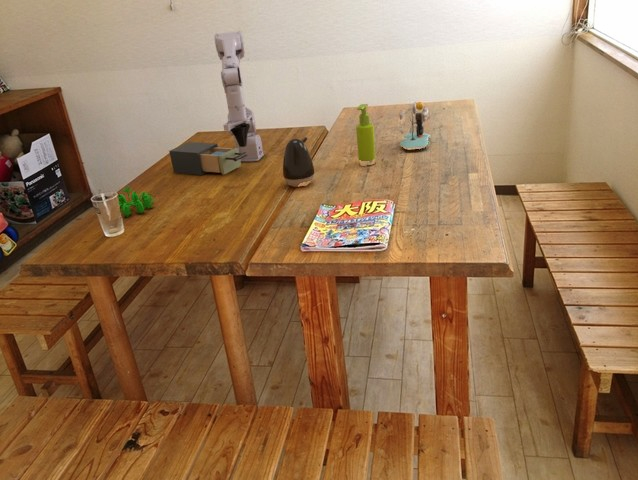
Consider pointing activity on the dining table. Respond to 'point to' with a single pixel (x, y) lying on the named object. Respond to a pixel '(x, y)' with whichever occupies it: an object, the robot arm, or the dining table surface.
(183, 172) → the cabinet
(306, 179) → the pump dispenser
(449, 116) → the dining table surface
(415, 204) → the dining table surface
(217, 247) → the dining table surface
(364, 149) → the soap dispenser
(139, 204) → the green lumpy piece
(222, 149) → the drawer
